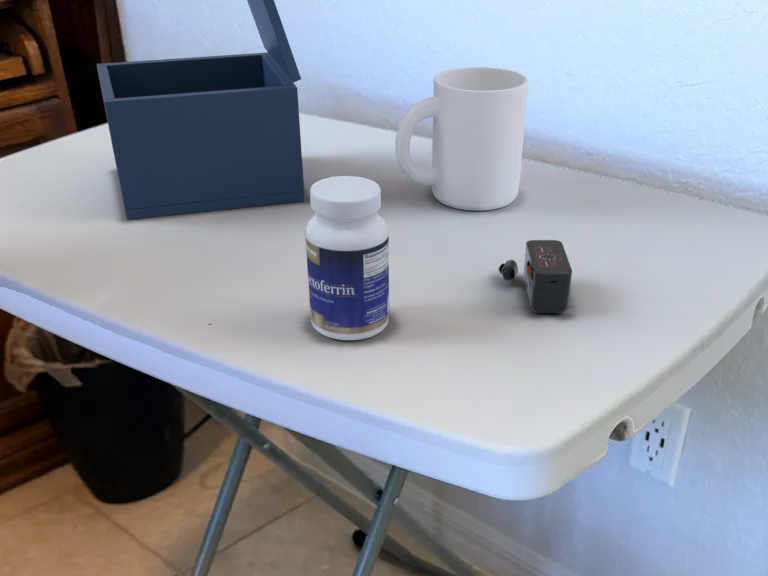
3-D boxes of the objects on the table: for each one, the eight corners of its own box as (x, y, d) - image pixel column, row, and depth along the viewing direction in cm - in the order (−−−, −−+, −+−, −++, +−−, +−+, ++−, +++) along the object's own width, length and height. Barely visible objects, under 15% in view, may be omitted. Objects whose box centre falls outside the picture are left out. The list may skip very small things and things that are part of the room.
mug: (408, 221, 83) (408, 97, 76) (383, 189, 89) (381, 73, 82) (532, 207, 86) (542, 87, 79) (499, 177, 92) (507, 63, 85)
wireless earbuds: (555, 275, 74) (559, 235, 72) (568, 316, 69) (573, 274, 67) (497, 275, 74) (500, 236, 72) (505, 316, 69) (509, 274, 67)
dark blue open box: (127, 220, 83) (104, 102, 77) (117, 172, 93) (96, 63, 86) (304, 201, 87) (297, 87, 80) (277, 157, 96) (268, 52, 90)
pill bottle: (295, 329, 67) (284, 190, 61) (342, 300, 71) (336, 166, 64) (359, 351, 65) (354, 209, 58) (404, 319, 68) (405, 183, 62)
